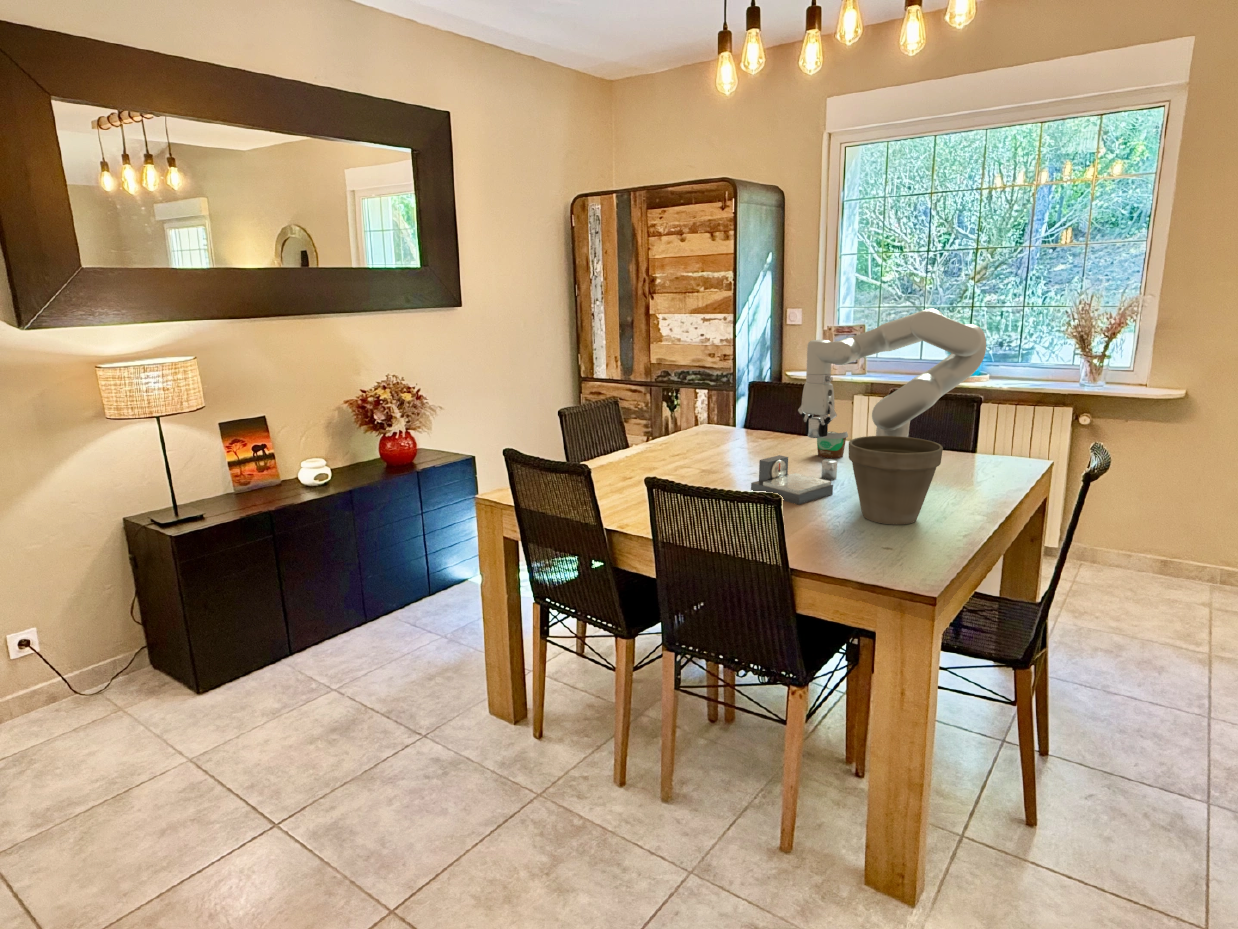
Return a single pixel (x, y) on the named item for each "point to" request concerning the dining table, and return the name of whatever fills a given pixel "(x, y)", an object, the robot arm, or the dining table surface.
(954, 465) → the dining table surface
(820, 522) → the dining table surface
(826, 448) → the food container
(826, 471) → the steel spacer
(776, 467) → the dial scale
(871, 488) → the plant pot
